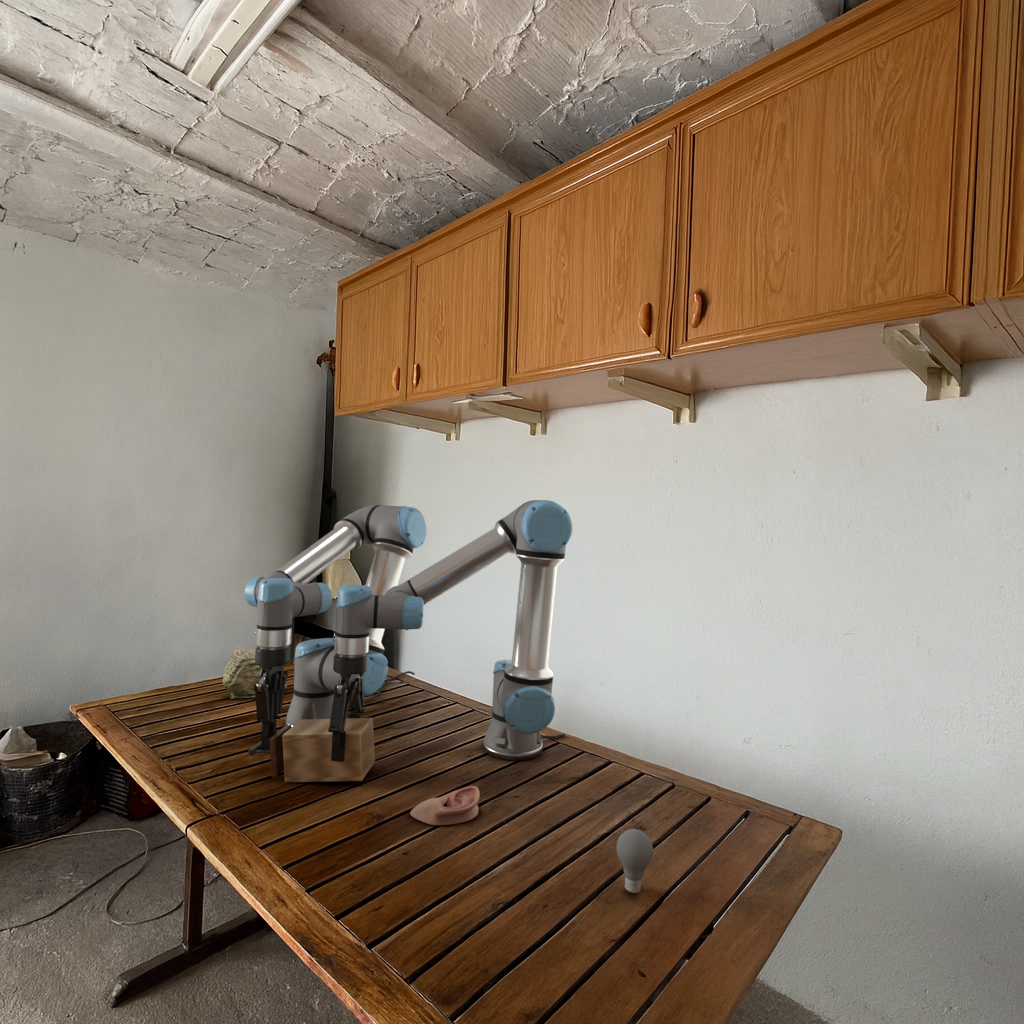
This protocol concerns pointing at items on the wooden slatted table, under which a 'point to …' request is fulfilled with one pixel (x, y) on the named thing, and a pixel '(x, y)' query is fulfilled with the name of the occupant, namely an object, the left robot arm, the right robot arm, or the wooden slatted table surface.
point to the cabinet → (327, 751)
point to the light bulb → (634, 857)
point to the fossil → (242, 673)
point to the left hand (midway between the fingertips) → (268, 749)
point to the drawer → (273, 751)
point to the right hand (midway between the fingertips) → (345, 751)
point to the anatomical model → (449, 807)
